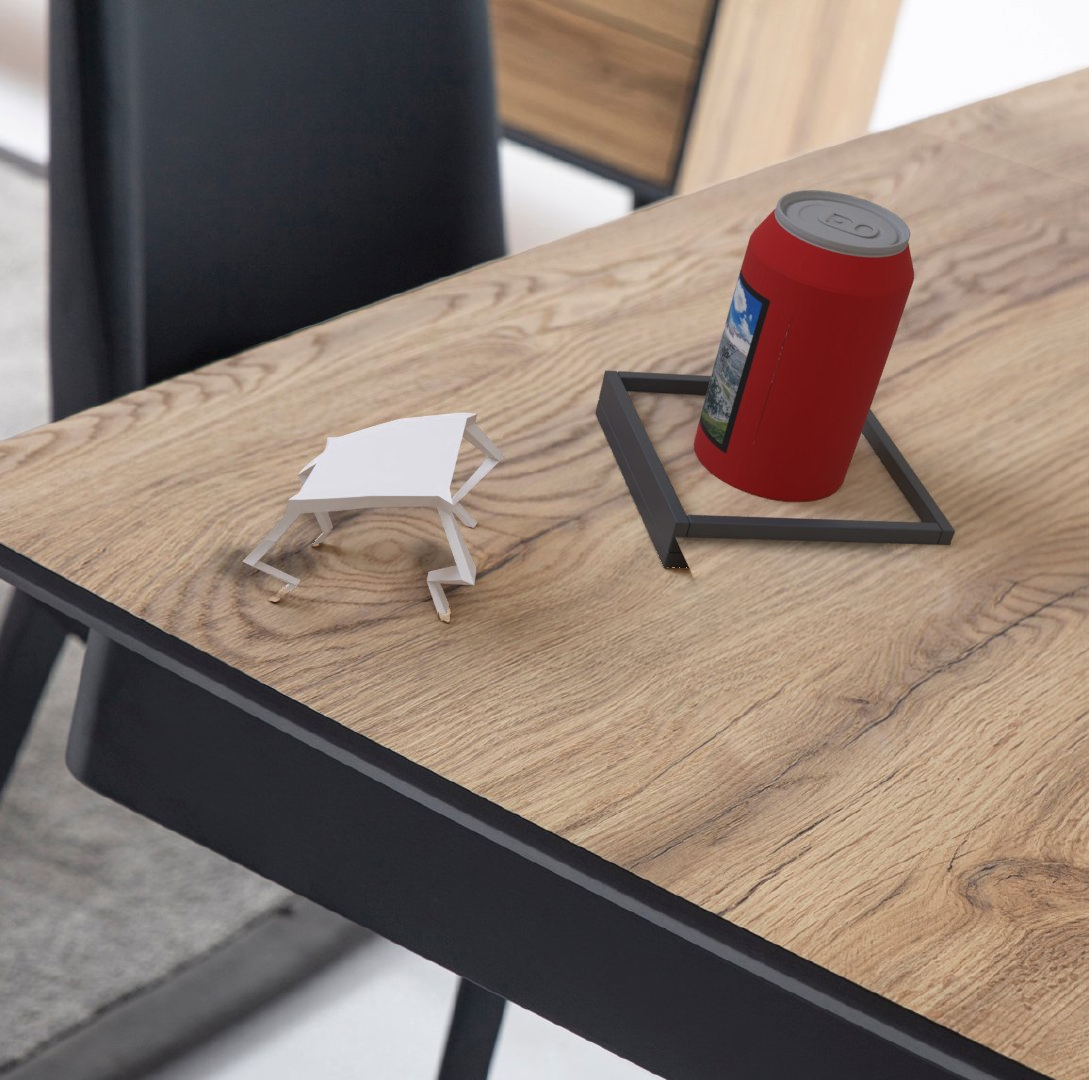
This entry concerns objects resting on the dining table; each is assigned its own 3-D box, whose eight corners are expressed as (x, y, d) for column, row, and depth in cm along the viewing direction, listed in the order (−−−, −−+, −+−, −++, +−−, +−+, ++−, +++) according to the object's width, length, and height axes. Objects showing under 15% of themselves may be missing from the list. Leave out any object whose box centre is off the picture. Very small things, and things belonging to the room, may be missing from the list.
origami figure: (431, 680, 58) (452, 568, 55) (227, 598, 60) (236, 486, 57) (551, 526, 67) (574, 423, 64) (370, 460, 69) (384, 357, 66)
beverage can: (724, 418, 75) (795, 168, 68) (860, 473, 73) (949, 222, 66) (663, 475, 70) (733, 213, 63) (807, 537, 68) (897, 272, 61)
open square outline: (838, 425, 78) (852, 382, 77) (938, 576, 69) (956, 530, 67) (594, 413, 75) (604, 369, 74) (663, 568, 66) (676, 521, 65)
